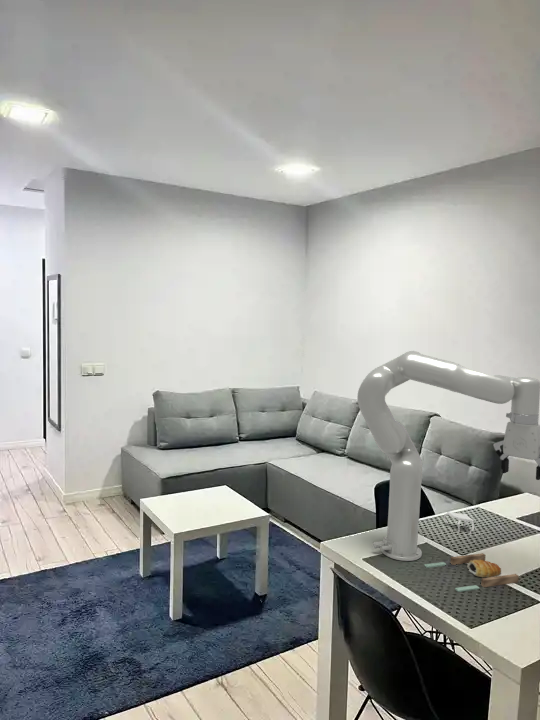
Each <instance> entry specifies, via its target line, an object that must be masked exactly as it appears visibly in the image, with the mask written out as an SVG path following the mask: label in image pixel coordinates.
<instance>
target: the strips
mask: <svg viewBox="0 0 540 720" xmlns="http://www.w3.org/2000/svg"><path fill="white" fill-rule="evenodd" d="M445 565H446V566H447V565H448V564H447V563H446V562H444V561H441V562H432V563H424V567H426V569H428V568H429V569H430V568H436V567H444V566H445ZM446 566H445V567H446ZM454 590H455V591H456V592H458V593H461V592H469V591H477V590H480V587H479V586H478V585H476V584H475V585H469V586H468V585H467V586H461V587H459V586H458V587H455V588H454Z"/></svg>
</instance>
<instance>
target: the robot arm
mask: <svg viewBox="0 0 540 720" xmlns="http://www.w3.org/2000/svg"><path fill="white" fill-rule="evenodd" d="M408 381H414V382H418V383H423V384H425V385H430V386H434V387H436V388H440V389H443V390H446V391H450V392H453V393H457V394H458V393H459V394H461V395H465V396H467V397H470V398H474V399H478V400H481V401H485V402H489V403H493V404H499V405H503V404H507V403H509V402H511V403H510V404H511V406H510V412H506V414H505V417H506V418H508V419H509V421H508V422H507V423H506V427H505V432H504V438H503V440H500V441H497V442H495V443H493V448H494V451H495V453H496V454H497V456H498V457H499V459H500V461H501V464H500V467H501V468H500V469H501V470H502V473H501V474H507V473H508V472H509V471H510V470H509V468H510V467H509V466H510V465H509V464H510V459H509V457H512V458H513V457H515V458H519V459H524V460H532V461H534V462H536V468H535V479H536V480H537V481H540V424H539V417H540V416H539V415H540V380H539V379H538V378H535V377H530V376H529V377H528V376H527V377H526V376H525V377H524V376H518V377H511V376H506V375H500V374H495V375H489V374H486V373H482V372H479V371H475V370H472V369H469V368H467V367H465V366H463V365H461V364H460V363H456V362H454V361H450V360H445V359H442V358H438V357H433V356H429V355H425V354H423V353H420V352H419V351H415V350H408V351H405V352H404V353H402V354H400V355H398V356H397V357H396V358H393V359H391V360H389V361H387V362H385V363H383V364H382V365H379V366H377V367H375V368H374V369H372V370H371V371H370V372H369V373H367V375H366V376H365V378H364V379H363V380H362V382H361V384H360V385H359V388H358V391H357V405H358V407H359V410H360V413H361V415H362V418H363V420H364V421H365V423H366V425H367V427H368V429H369V431H370V434H371V435H372V438H373V440H374V441H375V443H376V446H377V447H378V449H379V450H380V451H381V452H382V453H384V454H385V455H387V457H388V459H389V461H390V462H391V466H390V471H389V493H388V495H389V496H388V513H387V515H388V516H387V533H386V536H383V540H381V541H373V542H372V547H373V549H379V548H380V550H381V553H382V554H383V555H385V556H386V557H387V558H389V559H393V560H397V561H402V562H412V561H416V560H419V559H420V558H422V554H423V551H422V550H421V548H420V547H418V540H419V538H418V537H419V523H420V521H419V520H420V507H421V493H422V492H421V490H422V481H423V460H422V457H421V455H420V453H419V452H418V449H417V448H416V446H415V444H414V442H413V440H412V438H411V436H410V434H409V432H408V430H407V429H406V427H405V426H404V425H403V424H402V423H400V421H397V420H396V419H395V417H394V416H393V413H392V412H391V409H390V408H389V406H388V405H387V402H386V396H387V394H389V392H390V391H391V390H392V389H394V388H396V387H398V386H400V385H402V384H404V383H406V382H408ZM501 446H502V449H501Z"/></svg>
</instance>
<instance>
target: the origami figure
mask: <svg viewBox="0 0 540 720" xmlns="http://www.w3.org/2000/svg"><path fill="white" fill-rule="evenodd" d="M448 516H450V517H451V518H454V519H456V520H457V531H458V532H460V530H461V528H460V527H461V526H460V524H461V521H463V522H464V523H463V524H462V526H463V527H465V528H468V526H467V524H469V522H470V523H471V526H472V527H471V528H472V529H471V530H469V532H470V533H469V534H470V535H472V534H473V533H472V532H473V531H475V527H474V522H475V521H474V519H473V518H471V517H469V516H468V514H465V513H459V512H458V513H457V512H452V511H451V512H450V511H447V512H446V513H445V514H444V515H443V516H442V517H443V520H444V521H445V523H446V524H447V525H449V522H448V520H447V518H446V517H448Z"/></svg>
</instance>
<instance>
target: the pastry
mask: <svg viewBox="0 0 540 720" xmlns="http://www.w3.org/2000/svg"><path fill="white" fill-rule="evenodd" d="M466 566H467V569H469V570H468V572H470V573H471V574H472V575H474V576H475V577H478V578H489V577H496V576H500V575H501V573H502V570H501V569H502V568H501V567H500V566H499V564H497V563H495V562H491V561H488V560H485V561H484V560H480V559H479V560H473V561H470V562H469V563H467V565H466Z"/></svg>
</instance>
